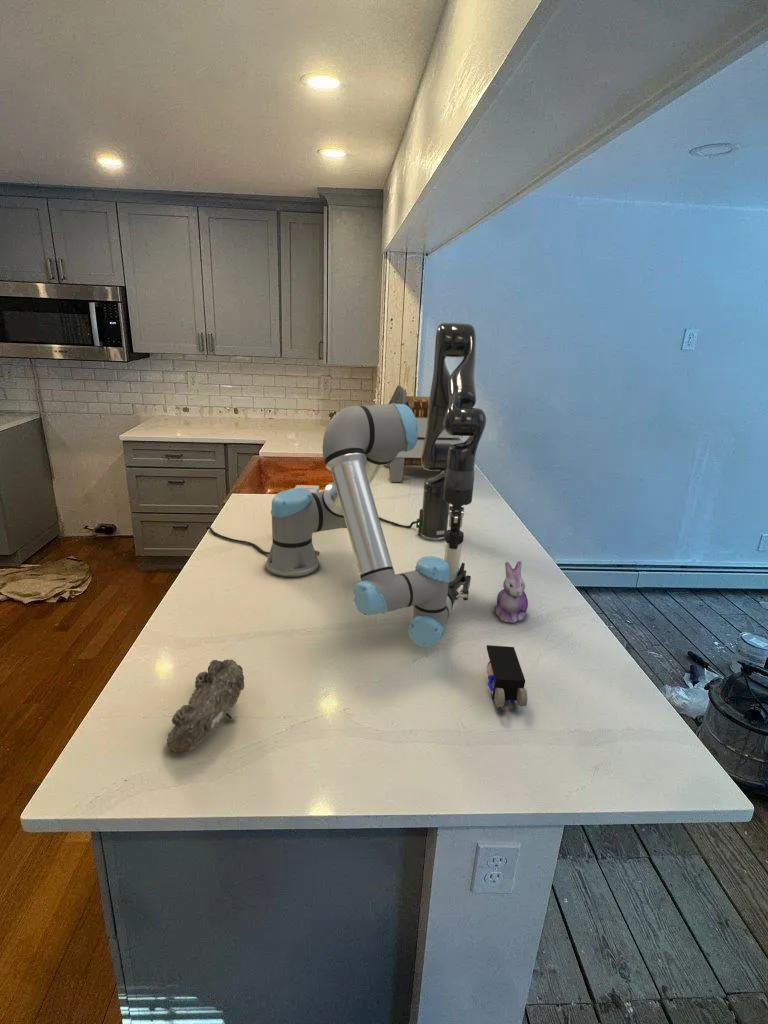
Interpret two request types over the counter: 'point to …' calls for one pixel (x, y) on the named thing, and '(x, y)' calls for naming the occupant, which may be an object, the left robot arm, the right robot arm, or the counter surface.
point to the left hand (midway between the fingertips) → (454, 565)
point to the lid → (460, 538)
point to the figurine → (512, 596)
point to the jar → (452, 560)
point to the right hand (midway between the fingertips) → (453, 543)
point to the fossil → (206, 705)
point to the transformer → (421, 414)
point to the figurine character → (506, 677)
